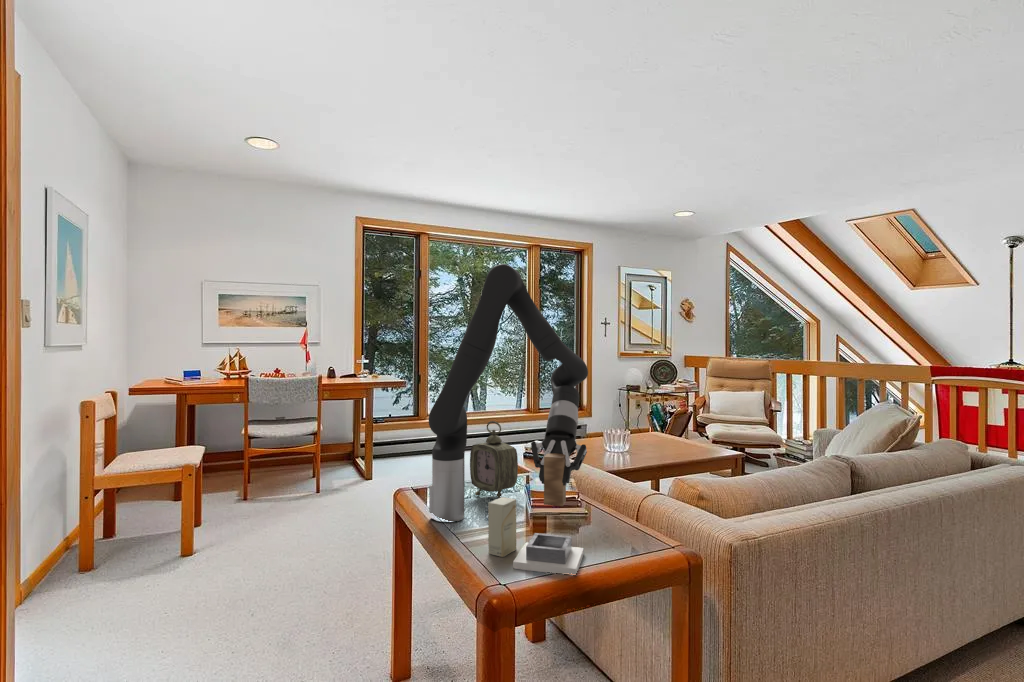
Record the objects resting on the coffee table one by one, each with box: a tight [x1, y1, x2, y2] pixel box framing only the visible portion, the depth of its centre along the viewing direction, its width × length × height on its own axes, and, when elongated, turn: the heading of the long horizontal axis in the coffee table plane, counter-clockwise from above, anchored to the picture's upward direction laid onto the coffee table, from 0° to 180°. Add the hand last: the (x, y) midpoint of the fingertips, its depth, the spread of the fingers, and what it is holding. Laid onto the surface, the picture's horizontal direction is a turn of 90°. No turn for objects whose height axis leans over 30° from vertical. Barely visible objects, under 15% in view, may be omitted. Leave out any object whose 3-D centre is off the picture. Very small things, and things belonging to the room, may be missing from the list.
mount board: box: [512, 532, 585, 574], centre depth 119 cm, size 14×12×4 cm
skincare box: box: [487, 496, 517, 558], centre depth 125 cm, size 6×4×12 cm
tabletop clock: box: [469, 420, 519, 499], centre depth 169 cm, size 14×9×25 cm, turn 43°
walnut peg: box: [543, 453, 567, 507], centre depth 121 cm, size 4×4×11 cm
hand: (553, 482), depth 119 cm, fingers closed on walnut peg, 4 cm apart
